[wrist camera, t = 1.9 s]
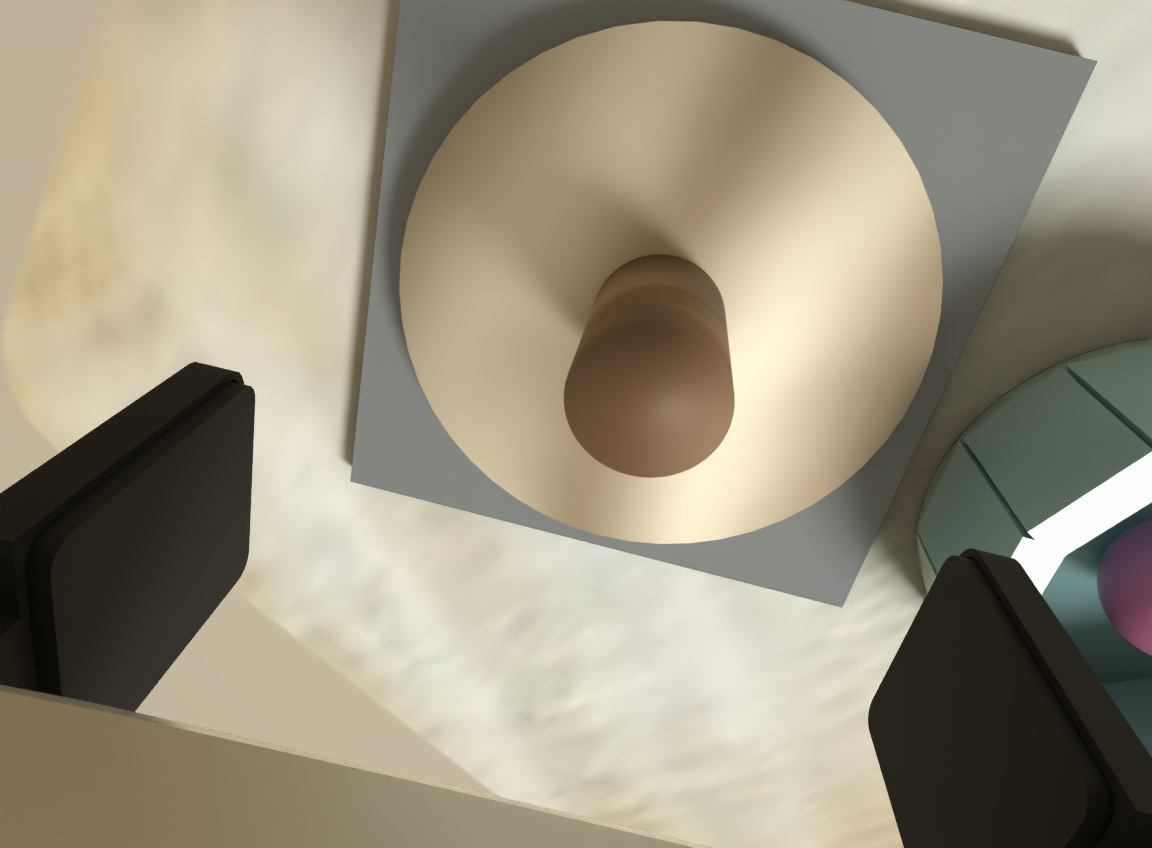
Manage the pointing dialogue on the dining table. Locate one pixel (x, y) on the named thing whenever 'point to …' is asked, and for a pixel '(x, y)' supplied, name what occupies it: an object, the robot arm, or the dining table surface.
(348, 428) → the dining table surface
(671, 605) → the dining table surface
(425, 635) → the dining table surface
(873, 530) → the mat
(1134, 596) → the plum
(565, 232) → the lid
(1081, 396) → the bowl
